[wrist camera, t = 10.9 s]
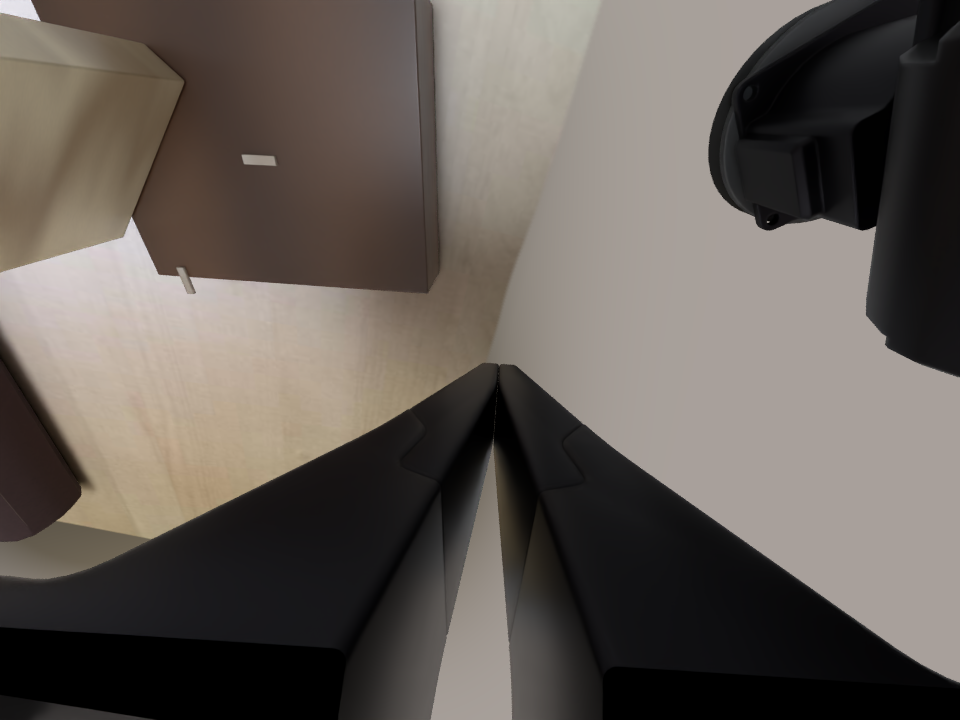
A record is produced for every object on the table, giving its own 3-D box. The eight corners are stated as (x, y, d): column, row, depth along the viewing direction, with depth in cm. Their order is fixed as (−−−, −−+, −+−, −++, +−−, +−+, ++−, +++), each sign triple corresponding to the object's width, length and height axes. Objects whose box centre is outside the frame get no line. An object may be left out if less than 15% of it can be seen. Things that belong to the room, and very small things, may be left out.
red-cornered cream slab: (143, 42, 13) (-258, -45, 6) (186, 81, 14) (-144, 38, 7) (89, 212, 17) (-203, 272, 10) (124, 237, 18) (-130, 310, 11)
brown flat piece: (431, -28, 14) (411, -64, 11) (439, 287, 21) (428, 311, 18) (-23, -38, 15) (-141, -73, 12) (130, 265, 22) (76, 285, 19)
